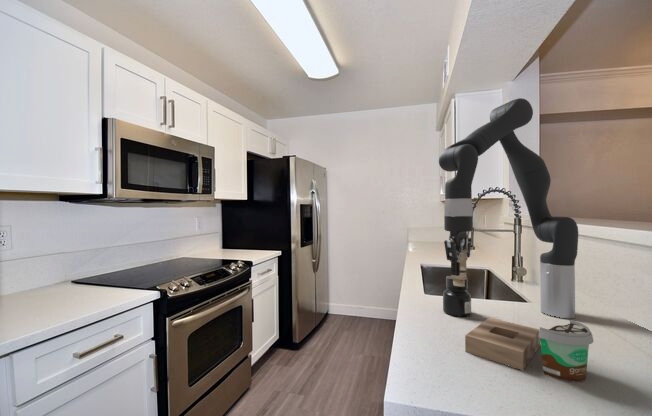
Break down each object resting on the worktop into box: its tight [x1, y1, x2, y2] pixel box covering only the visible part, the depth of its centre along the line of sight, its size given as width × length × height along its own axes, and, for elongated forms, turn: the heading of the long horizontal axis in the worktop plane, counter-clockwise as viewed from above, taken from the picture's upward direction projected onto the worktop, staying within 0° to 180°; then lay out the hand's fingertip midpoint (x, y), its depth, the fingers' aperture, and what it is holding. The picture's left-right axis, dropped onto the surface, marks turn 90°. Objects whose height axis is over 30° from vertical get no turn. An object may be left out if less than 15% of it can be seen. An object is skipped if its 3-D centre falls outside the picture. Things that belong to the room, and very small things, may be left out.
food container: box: [538, 319, 594, 383], centre depth 61 cm, size 12×6×10 cm, turn 114°
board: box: [464, 317, 541, 371], centre depth 73 cm, size 18×12×4 cm, turn 133°
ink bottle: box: [442, 275, 472, 318], centre depth 99 cm, size 10×9×12 cm
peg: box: [450, 250, 468, 287], centre depth 83 cm, size 4×4×10 cm
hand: (458, 273), depth 83 cm, fingers closed on peg, 4 cm apart
